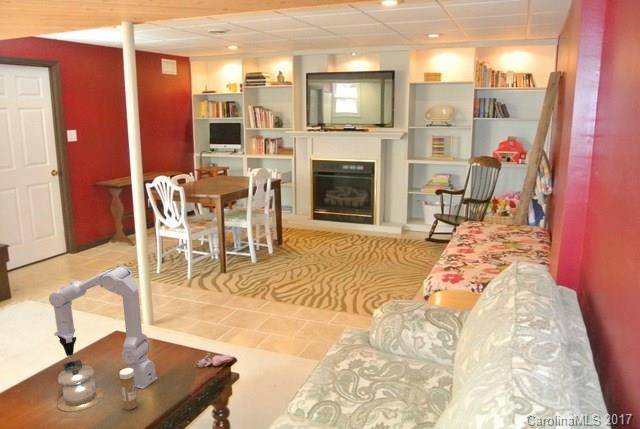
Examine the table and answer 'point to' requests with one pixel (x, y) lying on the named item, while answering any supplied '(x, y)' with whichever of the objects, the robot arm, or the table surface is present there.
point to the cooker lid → (75, 373)
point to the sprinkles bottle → (128, 388)
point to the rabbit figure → (213, 360)
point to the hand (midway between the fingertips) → (69, 353)
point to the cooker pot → (80, 396)
